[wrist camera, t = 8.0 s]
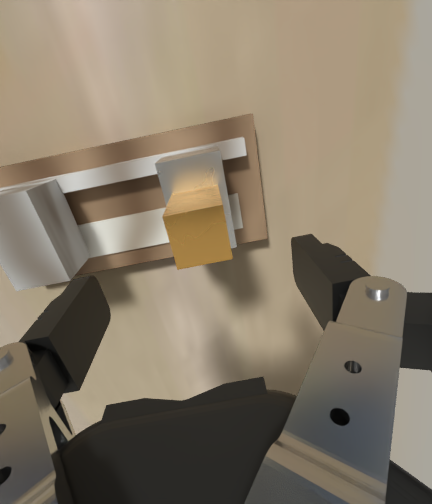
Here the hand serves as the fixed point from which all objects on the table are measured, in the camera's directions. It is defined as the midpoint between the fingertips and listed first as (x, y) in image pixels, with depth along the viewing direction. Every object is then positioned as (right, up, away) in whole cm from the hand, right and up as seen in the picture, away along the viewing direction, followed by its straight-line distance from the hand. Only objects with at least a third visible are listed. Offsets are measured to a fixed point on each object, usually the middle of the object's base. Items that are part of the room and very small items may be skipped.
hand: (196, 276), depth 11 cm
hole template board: (-6, +5, +13) cm, 15 cm away
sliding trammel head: (-1, +6, +10) cm, 12 cm away
